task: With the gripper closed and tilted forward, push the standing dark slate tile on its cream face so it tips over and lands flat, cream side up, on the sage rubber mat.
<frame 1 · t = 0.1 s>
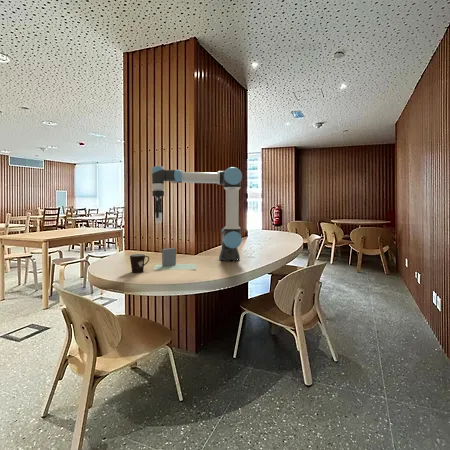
hand: (158, 222, 206), 28 cm above the table, tool pointing down, fingers open, 13 cm apart
coffee mug: (140, 272, 184), on the table
mat: (175, 267, 197), on the table
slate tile: (169, 265, 200), point 1 cm above the table, touching mat
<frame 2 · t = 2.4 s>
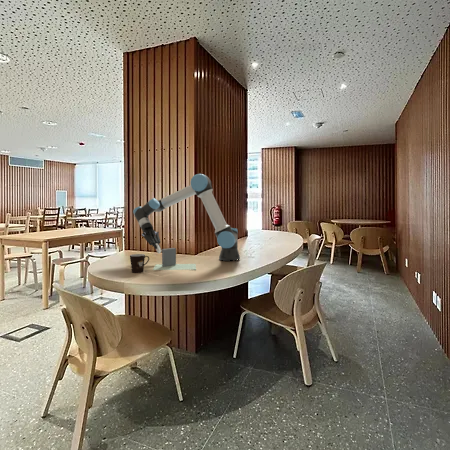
hand: (159, 252, 206), 8 cm above the table, tool tilted 45°, fingers closed
nothing on the table moved.
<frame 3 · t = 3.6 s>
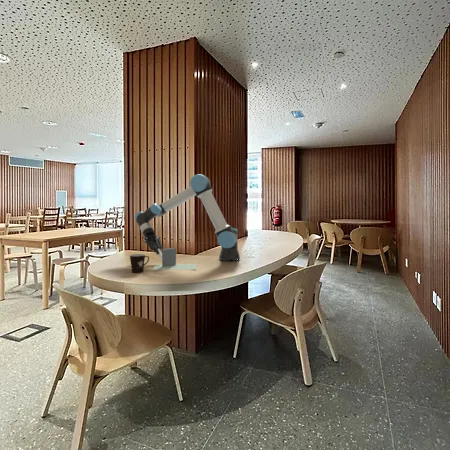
hand: (161, 257, 205), 5 cm above the table, tool tilted 45°, fingers closed
nothing on the table moved.
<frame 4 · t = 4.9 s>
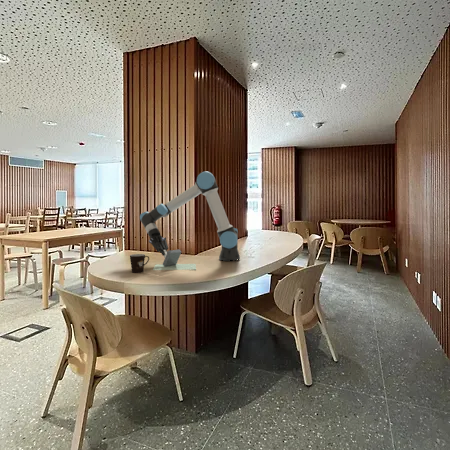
hand: (167, 258, 200), 5 cm above the table, tool tilted 45°, fingers closed
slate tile: (169, 264, 200), point 1 cm above the table, tilted 33°, touching mat
everything else where it was.
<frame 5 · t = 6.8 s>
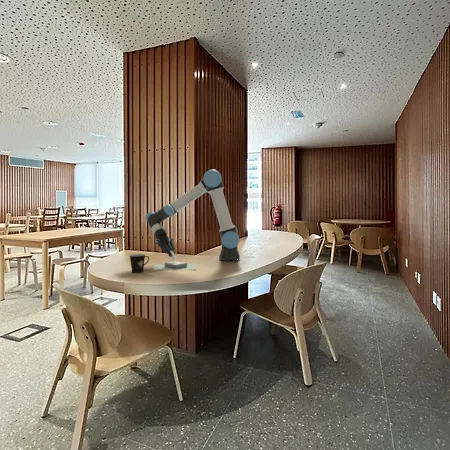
hand: (174, 259, 196), 5 cm above the table, tool tilted 45°, fingers closed
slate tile: (170, 264, 199), point 2 cm above the table, tilted 90°, touching mat
everything else where it was.
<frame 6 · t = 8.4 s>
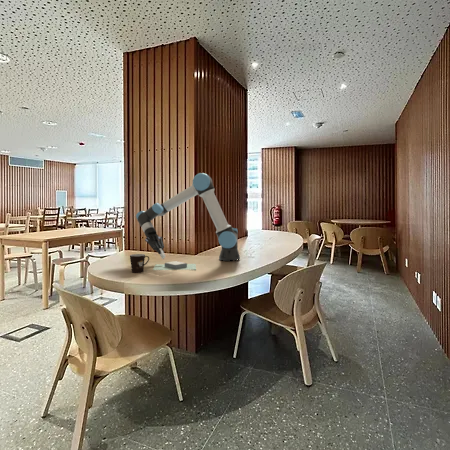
hand: (163, 257, 203), 5 cm above the table, tool tilted 45°, fingers closed
nothing on the table moved.
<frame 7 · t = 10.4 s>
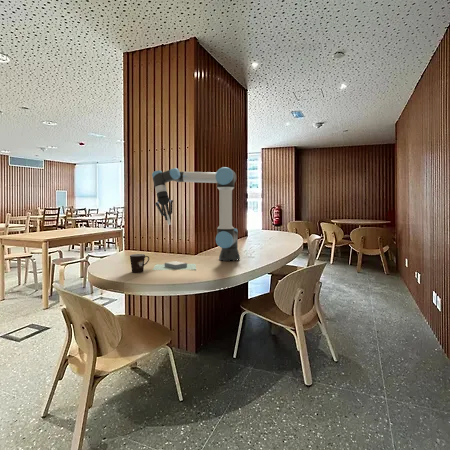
hand: (169, 224, 216), 26 cm above the table, tool tilted 20°, fingers closed
nothing on the table moved.
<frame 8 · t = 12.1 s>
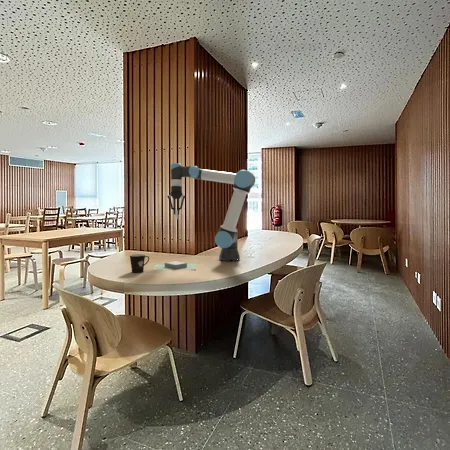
hand: (176, 219, 221), 29 cm above the table, tool pointing down, fingers closed
nothing on the table moved.
at the end: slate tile tilted 90°; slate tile inside the target area (3.9 cm from its centre), point 1.8 cm above the table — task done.
